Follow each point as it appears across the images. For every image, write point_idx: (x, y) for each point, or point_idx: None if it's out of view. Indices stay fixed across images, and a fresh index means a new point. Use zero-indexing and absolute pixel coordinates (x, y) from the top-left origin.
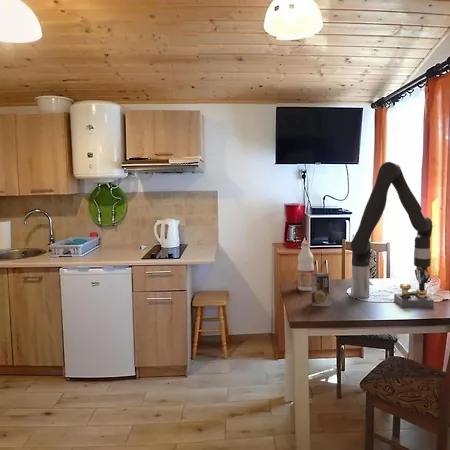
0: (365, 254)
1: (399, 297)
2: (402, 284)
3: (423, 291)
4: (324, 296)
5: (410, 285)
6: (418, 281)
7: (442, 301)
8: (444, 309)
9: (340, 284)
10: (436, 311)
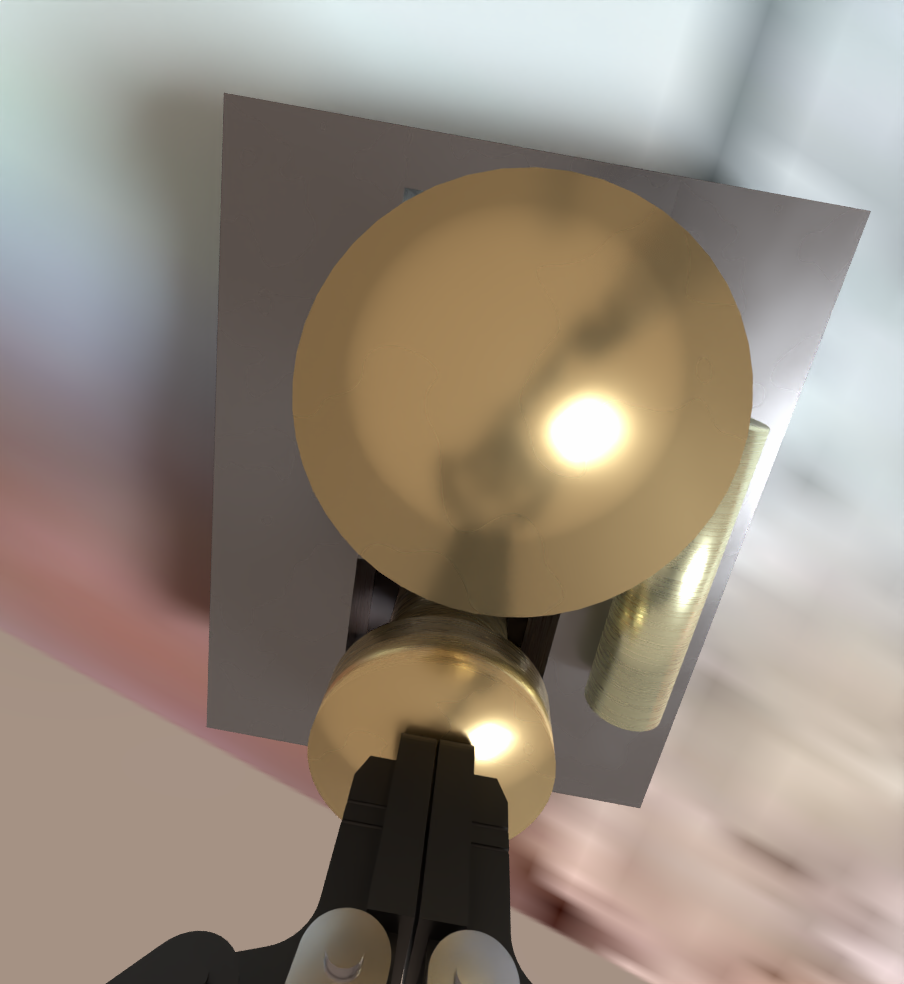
0: None
1: (500, 166)
2: (657, 351)
3: (323, 748)
4: None
5: (408, 575)
6: (474, 971)
7: (516, 880)
8: (193, 724)
9: None
10: (110, 591)
